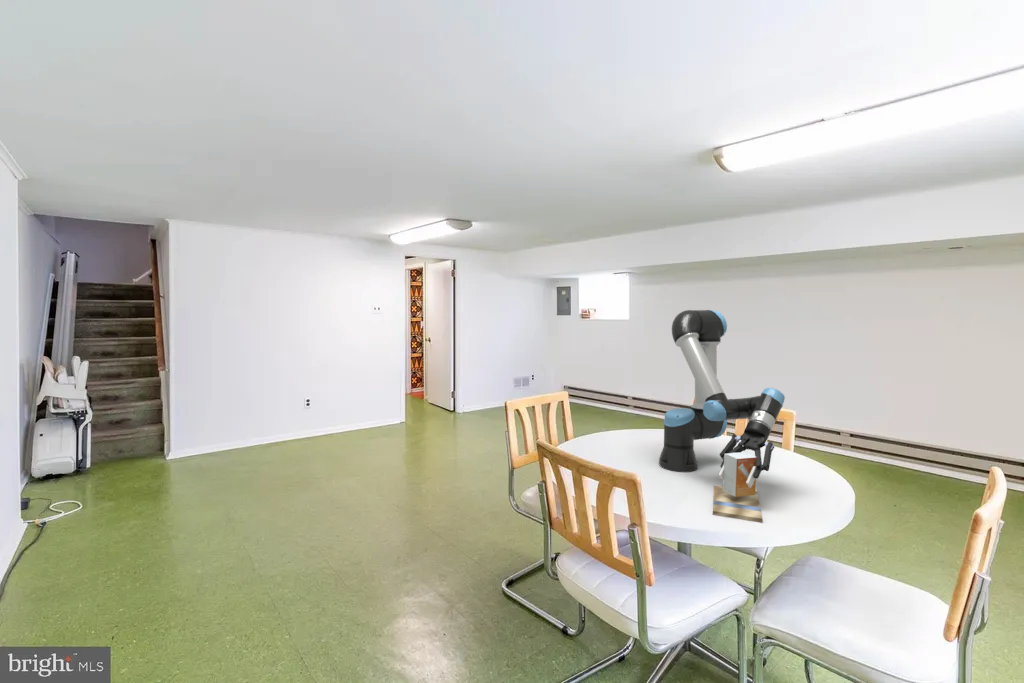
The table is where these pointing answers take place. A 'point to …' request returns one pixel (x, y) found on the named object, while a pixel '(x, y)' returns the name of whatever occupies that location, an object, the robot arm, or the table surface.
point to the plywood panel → (736, 505)
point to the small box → (738, 474)
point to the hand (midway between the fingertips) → (734, 481)
